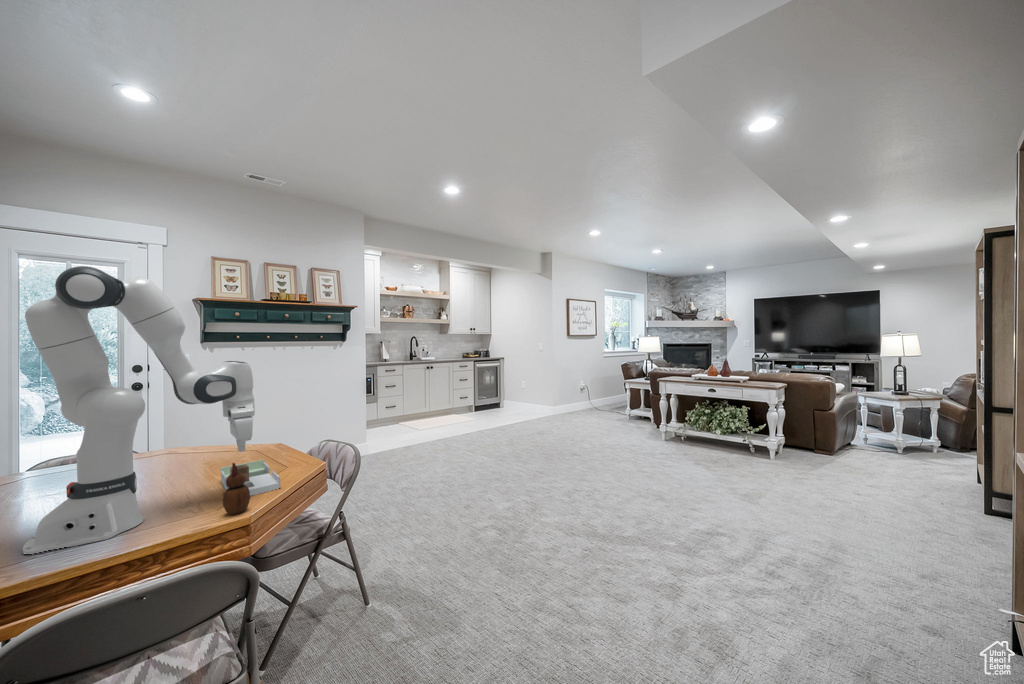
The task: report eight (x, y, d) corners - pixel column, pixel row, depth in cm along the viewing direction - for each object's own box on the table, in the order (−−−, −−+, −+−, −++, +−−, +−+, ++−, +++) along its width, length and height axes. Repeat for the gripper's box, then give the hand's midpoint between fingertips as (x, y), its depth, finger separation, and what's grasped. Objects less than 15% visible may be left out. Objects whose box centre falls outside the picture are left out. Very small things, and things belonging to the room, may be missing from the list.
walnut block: (232, 484, 141) (231, 470, 141) (230, 481, 145) (229, 467, 145) (249, 481, 145) (248, 466, 145) (247, 478, 148) (246, 464, 148)
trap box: (231, 500, 132) (230, 484, 132) (221, 481, 153) (220, 467, 153) (280, 488, 141) (279, 473, 141) (264, 472, 162) (264, 459, 162)
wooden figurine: (239, 516, 118) (236, 463, 118) (219, 517, 118) (216, 464, 118) (254, 507, 125) (252, 457, 125) (235, 508, 125) (233, 458, 125)
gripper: (223, 408, 144) (226, 447, 144) (231, 413, 128) (234, 458, 128) (245, 405, 148) (247, 444, 148) (255, 410, 132) (257, 453, 132)
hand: (241, 450), depth 138 cm, fingers closed
